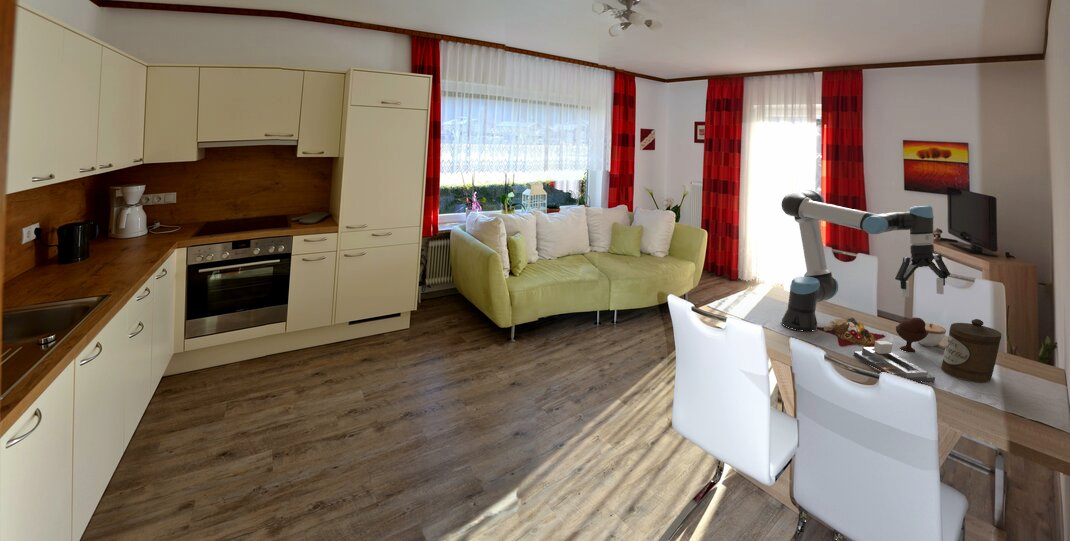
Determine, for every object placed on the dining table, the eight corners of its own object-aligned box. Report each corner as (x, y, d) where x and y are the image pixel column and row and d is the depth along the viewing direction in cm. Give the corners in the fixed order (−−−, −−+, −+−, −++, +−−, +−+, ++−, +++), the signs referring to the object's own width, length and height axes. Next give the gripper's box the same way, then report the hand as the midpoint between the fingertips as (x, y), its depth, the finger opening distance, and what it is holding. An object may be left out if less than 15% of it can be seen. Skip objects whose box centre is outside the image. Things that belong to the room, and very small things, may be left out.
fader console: (853, 355, 205) (855, 347, 204) (885, 354, 206) (887, 346, 205) (898, 383, 182) (900, 373, 181) (934, 382, 183) (936, 372, 182)
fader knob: (872, 355, 201) (874, 341, 199) (883, 355, 201) (886, 340, 200) (878, 359, 198) (881, 344, 196) (890, 358, 198) (893, 344, 196)
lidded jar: (947, 349, 212) (952, 329, 209) (919, 347, 214) (924, 327, 211) (933, 339, 222) (938, 320, 219) (906, 337, 224) (911, 318, 221)
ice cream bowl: (917, 346, 214) (924, 314, 210) (927, 357, 204) (935, 323, 200) (888, 343, 218) (895, 311, 214) (897, 353, 208) (904, 320, 204)
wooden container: (933, 363, 199) (945, 311, 193) (978, 367, 195) (991, 315, 189) (951, 379, 185) (964, 324, 180) (999, 385, 181) (1015, 329, 175)
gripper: (896, 247, 199) (897, 299, 201) (961, 241, 198) (961, 293, 200) (884, 246, 206) (885, 296, 208) (946, 240, 205) (947, 291, 207)
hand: (923, 295), depth 204 cm, fingers open, 13 cm apart
